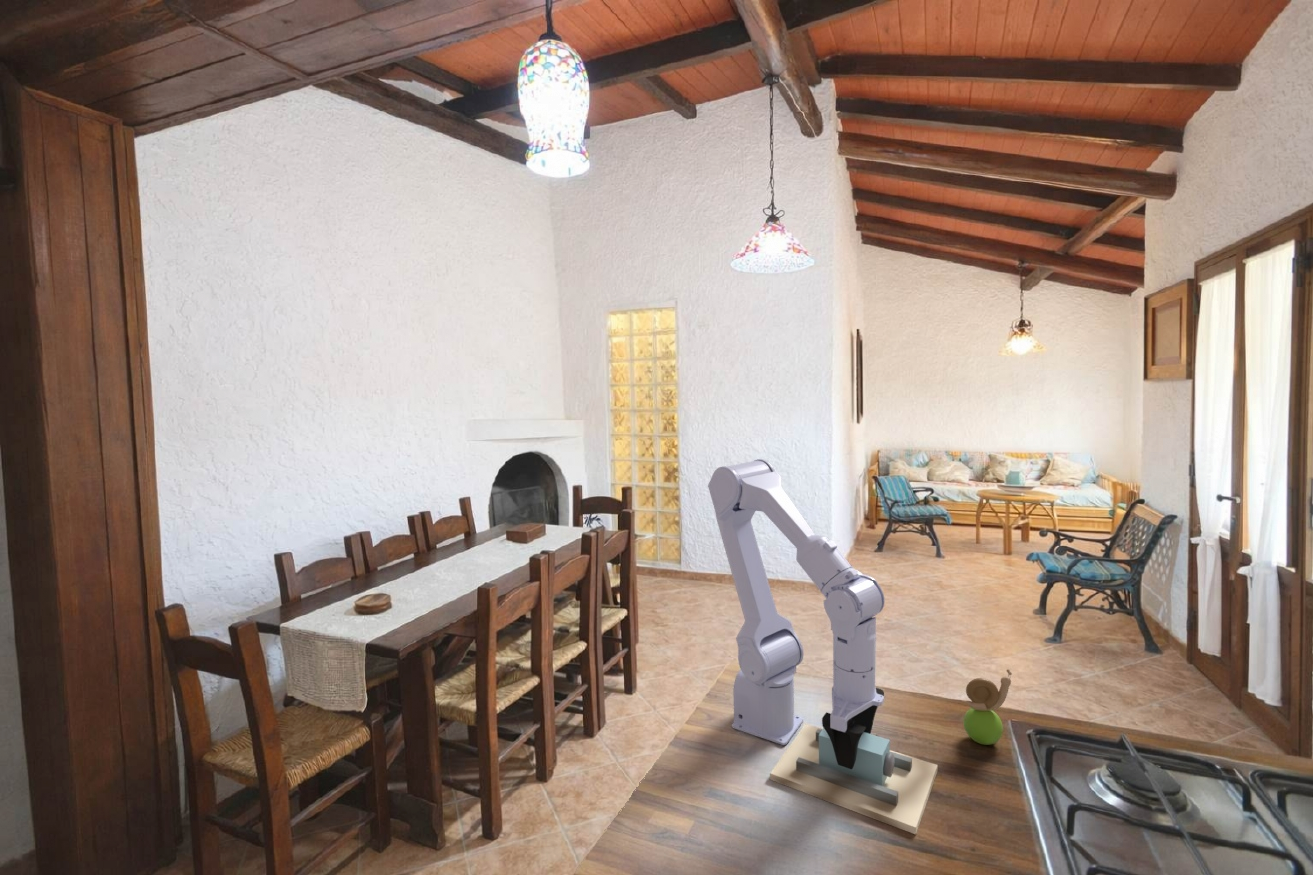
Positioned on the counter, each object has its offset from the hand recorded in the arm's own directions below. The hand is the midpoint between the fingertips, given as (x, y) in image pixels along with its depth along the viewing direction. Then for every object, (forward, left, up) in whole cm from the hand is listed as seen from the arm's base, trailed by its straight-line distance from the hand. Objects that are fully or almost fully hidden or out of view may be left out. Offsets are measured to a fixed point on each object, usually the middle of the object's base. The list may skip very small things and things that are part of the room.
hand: (853, 750), depth 90 cm
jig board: (0, 0, -4) cm, 4 cm away
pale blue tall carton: (0, 0, -3) cm, 3 cm away
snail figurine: (+15, +18, -4) cm, 24 cm away
